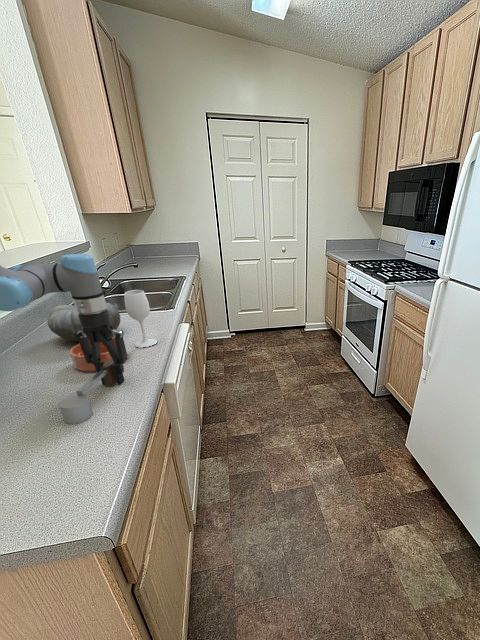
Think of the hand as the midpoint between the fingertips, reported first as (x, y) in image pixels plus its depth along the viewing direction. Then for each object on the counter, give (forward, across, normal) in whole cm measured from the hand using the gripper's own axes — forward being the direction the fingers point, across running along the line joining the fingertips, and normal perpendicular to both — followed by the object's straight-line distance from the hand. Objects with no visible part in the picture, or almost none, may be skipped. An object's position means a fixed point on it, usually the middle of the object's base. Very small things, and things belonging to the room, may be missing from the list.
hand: (113, 382), depth 105 cm
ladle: (0, 0, -9) cm, 9 cm away
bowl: (0, -12, +15) cm, 19 cm away
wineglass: (0, -3, +31) cm, 31 cm away
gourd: (+1, -30, +38) cm, 48 cm away
